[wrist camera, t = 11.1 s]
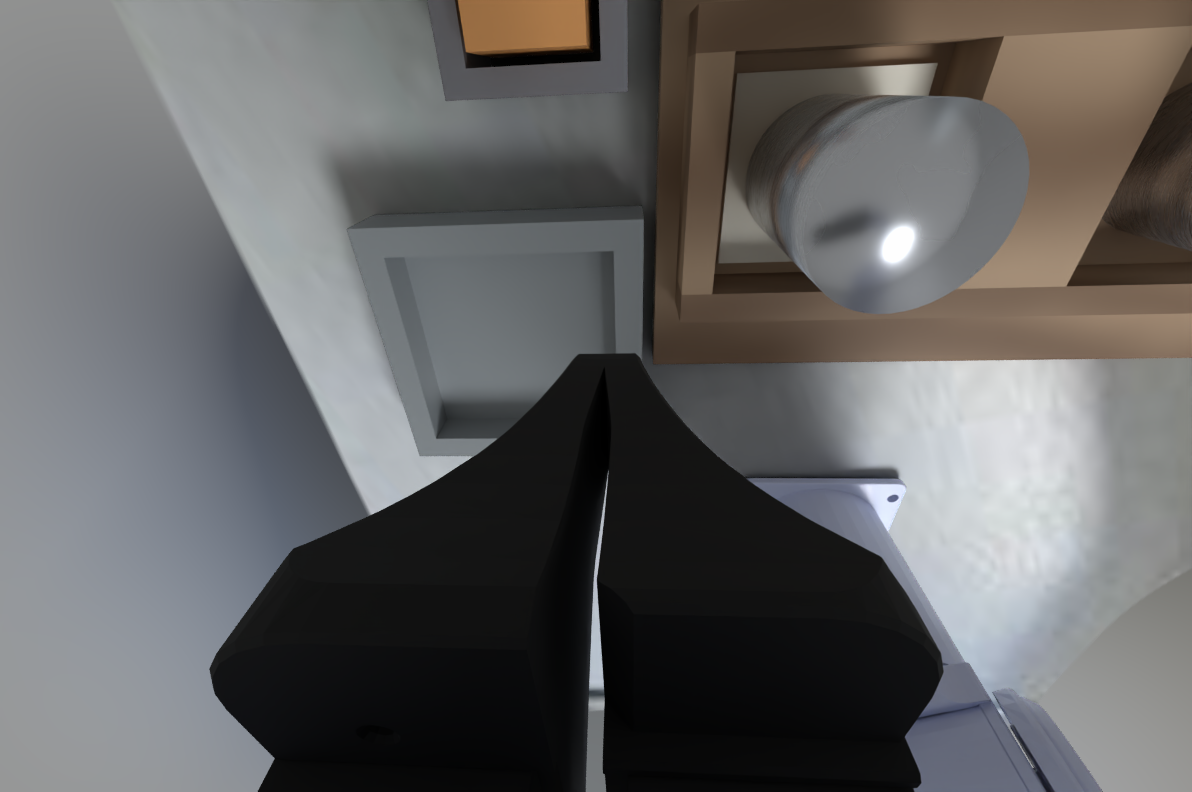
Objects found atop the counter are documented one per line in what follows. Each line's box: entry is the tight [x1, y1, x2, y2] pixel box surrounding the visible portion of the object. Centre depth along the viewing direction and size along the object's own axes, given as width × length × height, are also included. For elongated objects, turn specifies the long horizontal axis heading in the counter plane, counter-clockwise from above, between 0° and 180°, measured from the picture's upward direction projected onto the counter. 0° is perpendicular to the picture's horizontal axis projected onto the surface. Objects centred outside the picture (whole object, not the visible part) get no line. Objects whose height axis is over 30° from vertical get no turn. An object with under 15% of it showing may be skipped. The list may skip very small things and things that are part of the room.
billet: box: [745, 94, 1029, 314], centre depth 13 cm, size 4×4×6 cm
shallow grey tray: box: [347, 206, 644, 456], centre depth 19 cm, size 10×10×2 cm
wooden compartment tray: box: [652, 0, 1192, 364], centre depth 14 cm, size 14×21×3 cm, turn 93°
